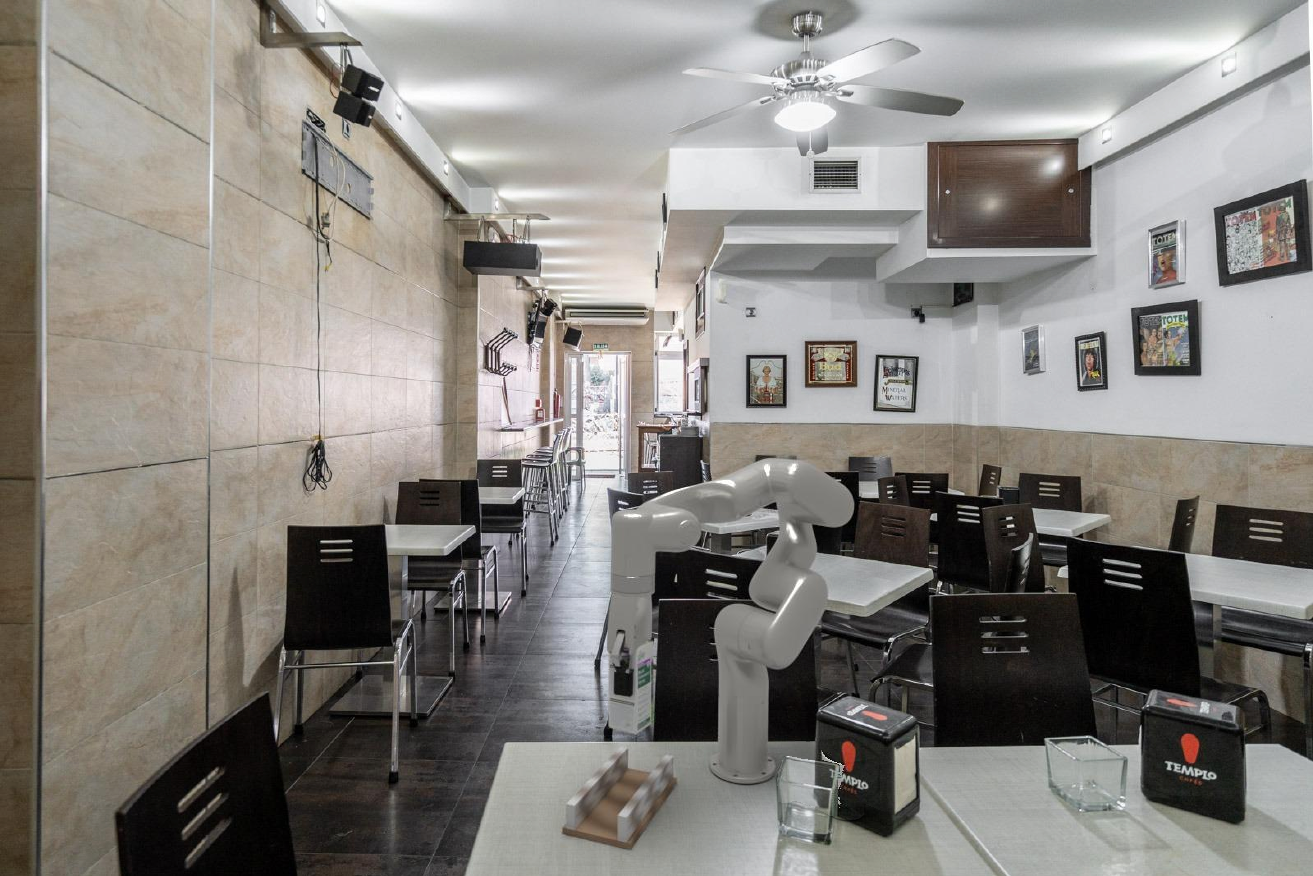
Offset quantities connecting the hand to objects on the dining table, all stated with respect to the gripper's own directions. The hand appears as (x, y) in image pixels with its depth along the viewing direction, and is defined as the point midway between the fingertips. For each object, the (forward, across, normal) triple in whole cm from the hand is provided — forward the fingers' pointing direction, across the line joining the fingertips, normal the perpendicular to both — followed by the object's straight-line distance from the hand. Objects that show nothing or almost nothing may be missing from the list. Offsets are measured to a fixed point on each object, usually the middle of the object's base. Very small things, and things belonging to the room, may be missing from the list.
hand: (630, 686), depth 122 cm
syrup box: (+7, 0, 0) cm, 7 cm away
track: (+22, -2, -2) cm, 22 cm away
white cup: (+22, -13, +35) cm, 43 cm away
